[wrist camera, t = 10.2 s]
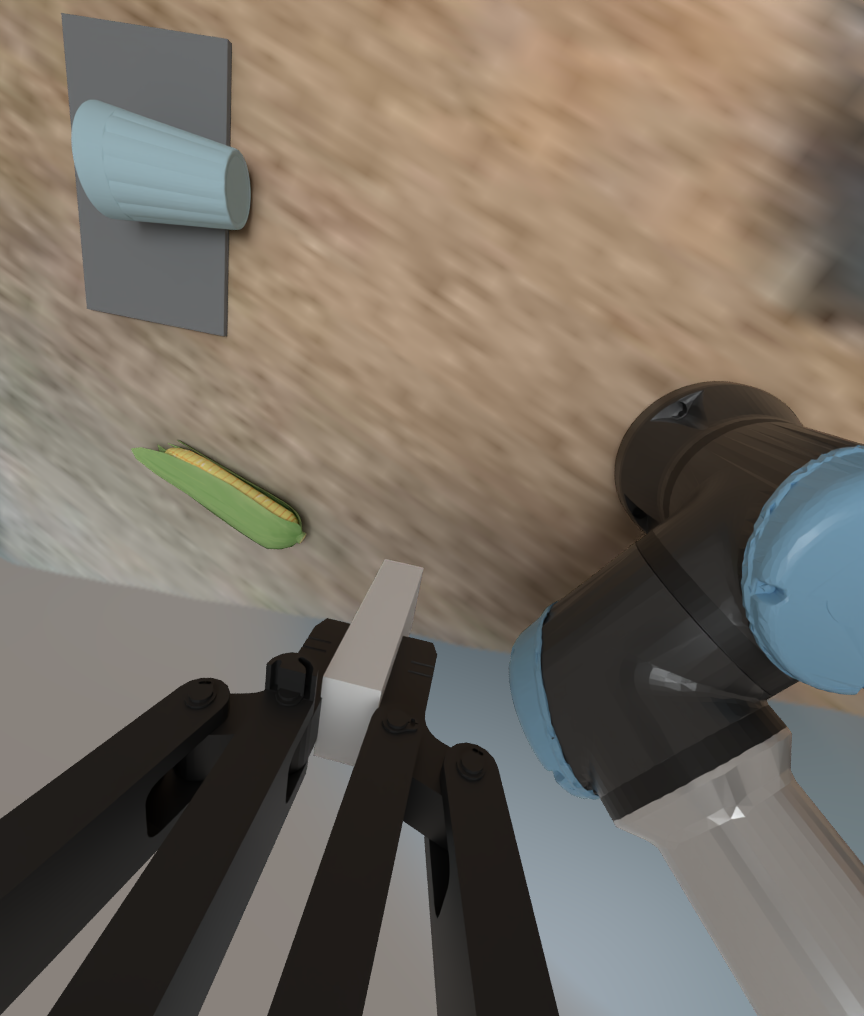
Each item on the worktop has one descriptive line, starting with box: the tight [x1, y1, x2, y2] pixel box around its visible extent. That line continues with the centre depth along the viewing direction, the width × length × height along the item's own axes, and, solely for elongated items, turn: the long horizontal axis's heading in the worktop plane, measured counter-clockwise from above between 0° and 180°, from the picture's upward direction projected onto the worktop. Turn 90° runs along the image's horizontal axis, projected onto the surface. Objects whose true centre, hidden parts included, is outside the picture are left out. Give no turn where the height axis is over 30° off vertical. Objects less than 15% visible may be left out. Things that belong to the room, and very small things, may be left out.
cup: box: [72, 100, 251, 230], centre depth 37 cm, size 8×8×10 cm
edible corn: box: [131, 440, 306, 549], centre depth 49 cm, size 5×20×5 cm
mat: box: [61, 13, 232, 336], centre depth 41 cm, size 14×22×1 cm, turn 170°
